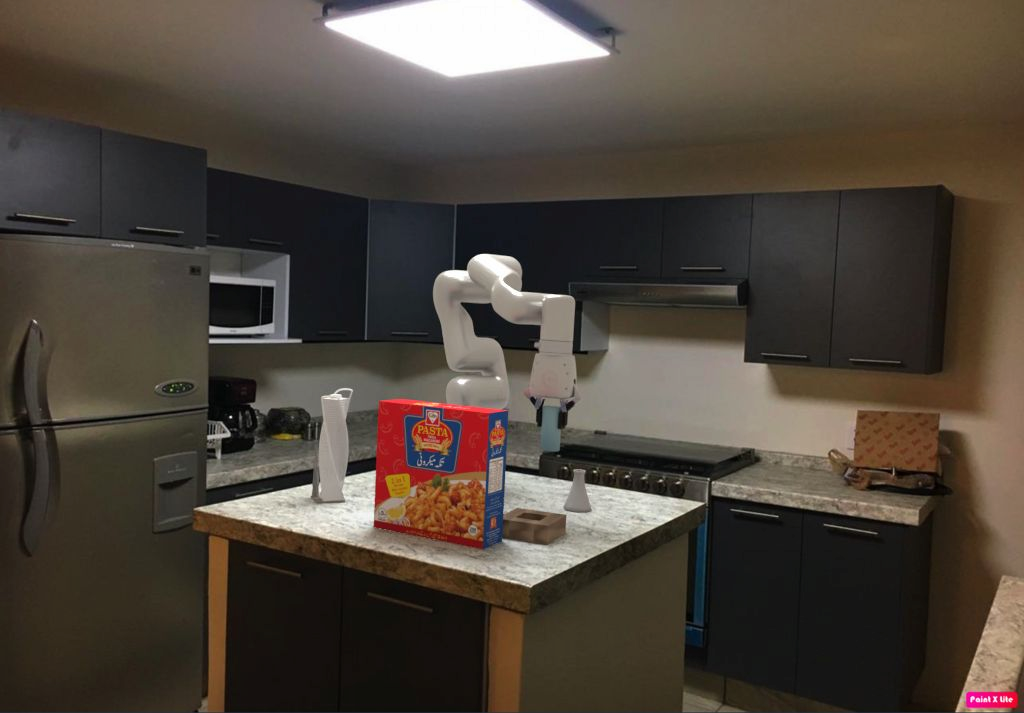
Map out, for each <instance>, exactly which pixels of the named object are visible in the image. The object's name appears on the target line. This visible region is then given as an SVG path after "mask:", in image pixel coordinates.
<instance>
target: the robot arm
mask: <svg viewBox="0 0 1024 713" xmlns="http://www.w3.org/2000/svg"><path fill="white" fill-rule="evenodd" d="M522 277H523V269H522V265H521V263H520V262H519V261H518V260H517V259H516V258H514V257H513V256H508V255H500V254H490V253H482V254H481V253H480V254H476V255H475V256H474V257H472V258H471V259H470V260H469V261H468V263H467V267H466V270H459V269H453V270H452V269H450V270H445V271H442V272H441V273H439V274H438V275H437V277H436V278H435V281H434V284H433V289H432V298H433V304H434V308H435V311H436V313H437V316H438V319H439V321H440V325H441V332H442V333H441V334H442V338H443V345H444V353H445V357H446V362H447V366H448V368H449V369H450V370H452V371H453V372H456V373H457V372H458V373H481V375H480V374H479V375H474V374H473V375H466V374H465V375H459V376H456V377H454V378H452V379H450V380H449V382H448V383H447V386H446V388H445V397H446V404H453V405H462V406H471V407H481V408H490V409H499V410H504V408H505V407H507V405H508V404H509V400H510V386H509V385H510V384H509V380H508V373H507V368H506V361H505V356H504V351H503V348H502V347H501V345H500V343H499V342H498V341H497V340H495V338H490V337H478V336H477V335H476V334H475V332H474V331H475V330H474V324H473V320H472V317H471V316H470V314H469V313H468V312H467V310H466V309H465V307H464V306H463V305H462V304H461V303H471V304H491V306H492V308H493V311H494V312H495V313H496V314H498V316H500V317H502V318H503V319H504V320H505V321H507V322H510V323H512V324H516V325H534V326H540V333H539V334H540V337H539V338H540V339H539V341H535V342H534V345H533V347H534V348H536V349H538V351H539V353H538V352H537V353H535V355H534V359H533V362H532V367H531V368H532V369H531V374H530V379H529V380H530V382H529V385H528V387H527V388H526V389H525V391H524V392H523V396H525V398H527V400H529V401H530V402H531V403H532V405H533V406H534V409H535V410H536V411H535V412H536V414H535V423H537V424H536V426H537V428H540V427H541V426H542V409H543V406H545V403H546V399H556V400H557V399H558V400H559V404H560V407H561V412H559V419H558V429H561V430H564V429H566V426H568V420H569V419H568V418H569V412H570V411H571V409H572V408H573V407H575V406H576V405H578V404H579V403H580V402H582V401H584V397H583V395H582V393H581V392H580V390H579V388H578V386H577V383H578V382H577V381H578V380H577V376H578V375H577V364H576V357H575V355H573V346H574V345H573V343H574V342H573V341H574V328H575V314H576V313H575V311H576V310H575V309H576V300H575V298H574V297H573V296H571V295H567V294H553V293H542V292H530V291H529V292H528V291H522V288H523V286H522V285H523V282H522V281H523V280H522ZM570 399H571V400H570Z"/></svg>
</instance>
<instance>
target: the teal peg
mask: <svg viewBox="0 0 1024 713" xmlns="http://www.w3.org/2000/svg"><path fill="white" fill-rule="evenodd" d="M559 412H561V405H560V406H559V405H544V406H543V409H542V426H541V429H540V446H539V449H540V451H543V452H559V451H560V450H561V434H562V433H561V432H562V429H558V419H559Z"/></svg>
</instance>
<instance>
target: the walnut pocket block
mask: <svg viewBox="0 0 1024 713" xmlns="http://www.w3.org/2000/svg"><path fill="white" fill-rule="evenodd" d="M566 530H567V514H563V513H556V512H550V511H540V510H535V509H529V508H527V509H526V508H522V507H521V508H520V507H516V508H514V509H512V510H510V511H507V512H506V513H503V533H502V539H507V540H516V541H521V542H527V543H535V544H540V545H541V544H542V545H549V544H551V543H552V542H554V541H556V540H557V539H558V538H559V537H561V536H562V535H564V534H565V533H567V532H566Z"/></svg>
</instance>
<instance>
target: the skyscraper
mask: <svg viewBox="0 0 1024 713" xmlns="http://www.w3.org/2000/svg"><path fill="white" fill-rule="evenodd" d="M342 391H349V392H350V393H349V397H343V396H342V394H339V392H342ZM353 392H354V390H353V389H352V388H349V387H343V388H338V389H337V390H336V391H334V393H333V394H332V393H331V394H329V395H322V396H321V397H320V401H321V411H322V420H323V422H322V425H321V430H320V436H319V444H318V447H316V449H315V450H316V451H315V453H316V454H315V455H314V458H315V460H314V465H313V475H312V483H311V484H312V490H311V495H310V498H311V499H312V500H313V501H314V503H316V504H333V503H334V504H335V503H346V499H345V495H344V492H343V487H344V483H345V478H346V474H347V468H348V460H349V446H350V445H349V433H348V432H349V431H348V425H347V420H346V419H347V417H348V412H349V411H348V410H349V407H350V403H351V399H352V396H353ZM319 485H320V488H319ZM319 489H321V490H319Z"/></svg>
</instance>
